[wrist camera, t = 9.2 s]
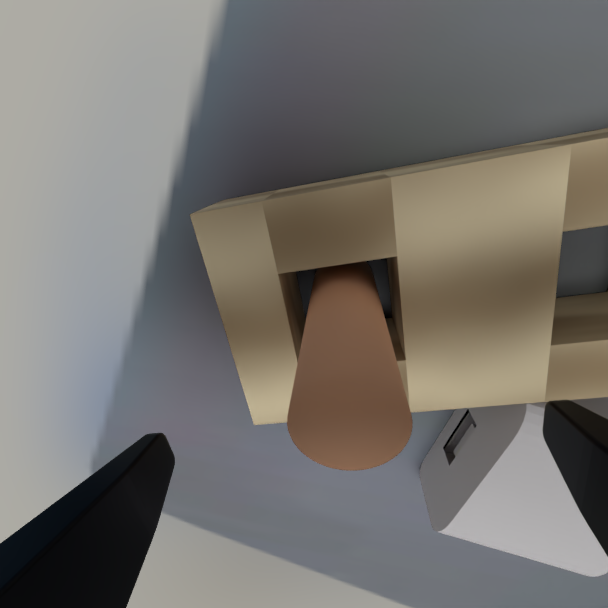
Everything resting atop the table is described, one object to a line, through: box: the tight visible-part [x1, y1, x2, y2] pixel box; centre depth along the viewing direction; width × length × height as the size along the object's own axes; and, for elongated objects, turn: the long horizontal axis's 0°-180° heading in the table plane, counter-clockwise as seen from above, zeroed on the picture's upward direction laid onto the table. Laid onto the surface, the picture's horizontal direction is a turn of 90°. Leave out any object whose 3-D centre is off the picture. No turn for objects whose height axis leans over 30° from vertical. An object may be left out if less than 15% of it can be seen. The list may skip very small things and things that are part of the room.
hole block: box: [190, 128, 608, 425], centre depth 15 cm, size 10×20×4 cm, turn 101°
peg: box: [287, 261, 412, 470], centre depth 13 cm, size 3×3×10 cm
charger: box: [420, 397, 608, 577], centre depth 19 cm, size 5×9×15 cm
